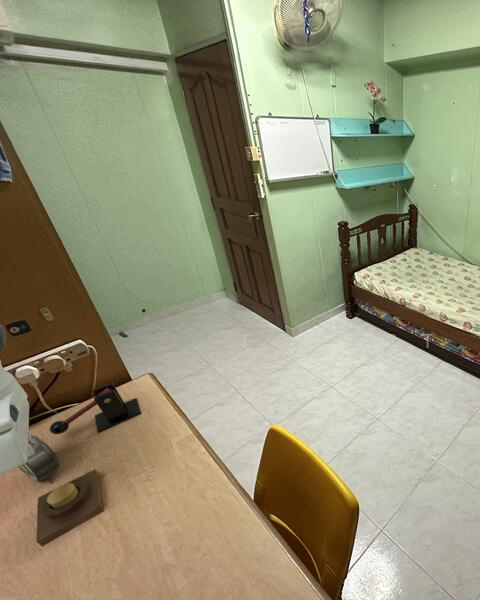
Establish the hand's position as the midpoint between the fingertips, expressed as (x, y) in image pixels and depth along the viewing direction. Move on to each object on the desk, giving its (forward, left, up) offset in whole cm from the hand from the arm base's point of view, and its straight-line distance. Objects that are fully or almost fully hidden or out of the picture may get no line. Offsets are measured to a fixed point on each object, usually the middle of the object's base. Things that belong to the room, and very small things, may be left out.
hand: (29, 451), depth 63 cm
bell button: (0, -1, -15) cm, 16 cm away
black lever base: (+11, +24, -19) cm, 33 cm away
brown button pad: (0, -1, -19) cm, 19 cm away
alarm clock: (-4, +14, -19) cm, 24 cm away
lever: (+5, +24, -14) cm, 28 cm away
